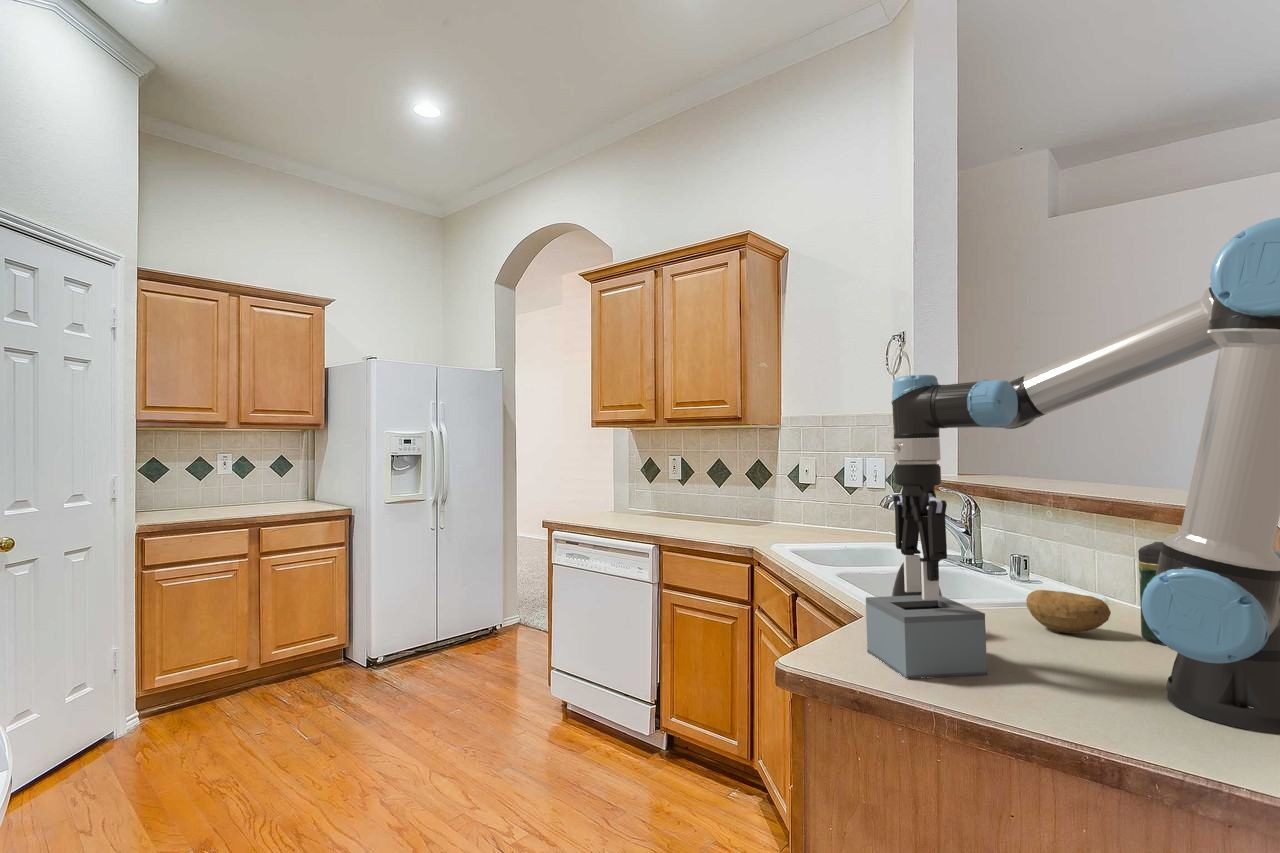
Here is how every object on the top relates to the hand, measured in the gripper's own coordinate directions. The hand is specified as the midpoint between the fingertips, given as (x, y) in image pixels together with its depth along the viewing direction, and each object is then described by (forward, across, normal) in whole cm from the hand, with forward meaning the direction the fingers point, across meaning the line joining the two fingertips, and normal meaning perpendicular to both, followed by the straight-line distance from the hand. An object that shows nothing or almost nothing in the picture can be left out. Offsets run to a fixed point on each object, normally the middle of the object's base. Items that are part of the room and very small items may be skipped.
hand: (921, 594), depth 111 cm
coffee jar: (+12, -5, +52) cm, 54 cm away
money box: (+12, 0, 0) cm, 12 cm away
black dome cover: (+12, -18, +9) cm, 23 cm away
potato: (+12, -13, +38) cm, 42 cm away
